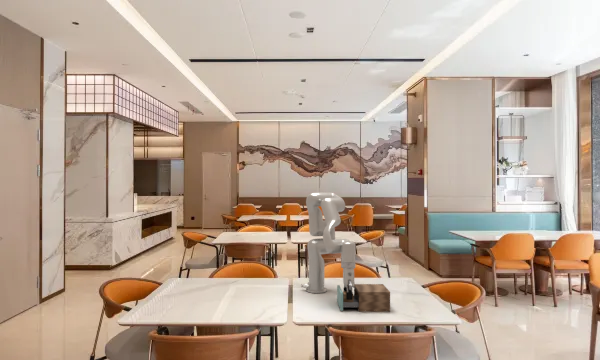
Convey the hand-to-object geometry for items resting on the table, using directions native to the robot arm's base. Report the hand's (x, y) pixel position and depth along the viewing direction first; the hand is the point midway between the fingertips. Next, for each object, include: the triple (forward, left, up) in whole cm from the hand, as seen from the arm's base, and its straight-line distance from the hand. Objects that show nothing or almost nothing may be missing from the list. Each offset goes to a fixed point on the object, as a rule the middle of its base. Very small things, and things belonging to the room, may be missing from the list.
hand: (348, 297), depth 215 cm
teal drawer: (+3, 0, -5) cm, 6 cm away
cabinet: (+12, 0, -5) cm, 14 cm away
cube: (0, 0, -3) cm, 3 cm away
